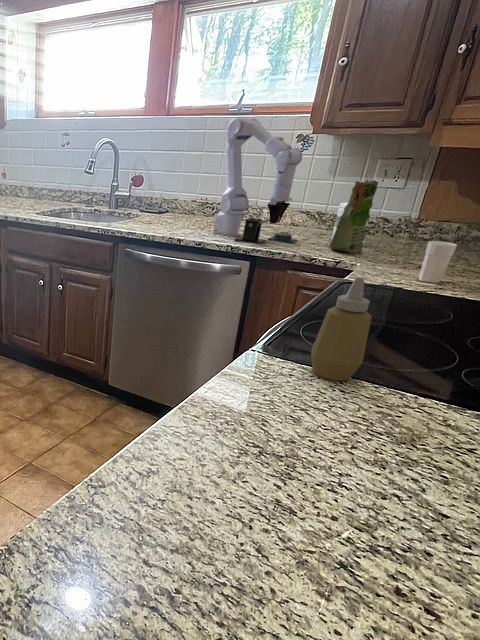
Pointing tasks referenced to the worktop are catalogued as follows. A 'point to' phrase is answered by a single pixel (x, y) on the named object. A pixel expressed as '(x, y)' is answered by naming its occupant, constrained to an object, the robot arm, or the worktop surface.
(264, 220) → the switch lever
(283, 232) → the button
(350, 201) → the pouch
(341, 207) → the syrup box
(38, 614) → the worktop surface
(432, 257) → the cup
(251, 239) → the switch bracket
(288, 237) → the button block
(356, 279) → the squeeze bottle
